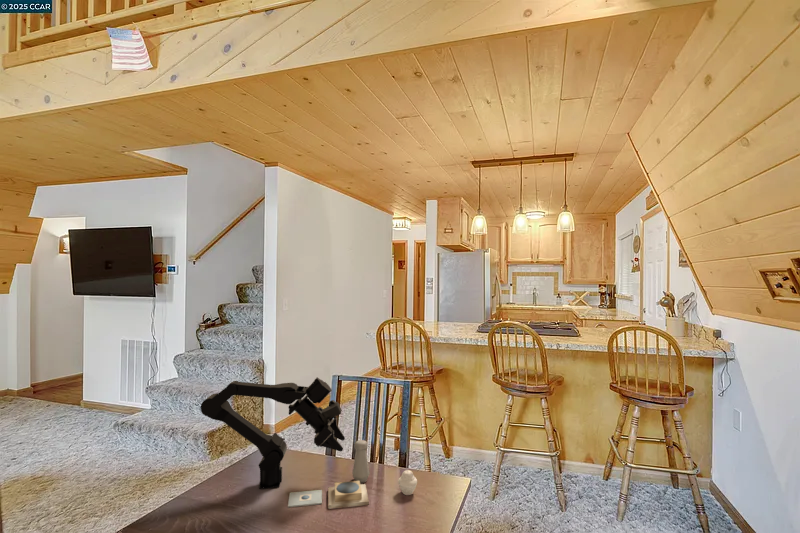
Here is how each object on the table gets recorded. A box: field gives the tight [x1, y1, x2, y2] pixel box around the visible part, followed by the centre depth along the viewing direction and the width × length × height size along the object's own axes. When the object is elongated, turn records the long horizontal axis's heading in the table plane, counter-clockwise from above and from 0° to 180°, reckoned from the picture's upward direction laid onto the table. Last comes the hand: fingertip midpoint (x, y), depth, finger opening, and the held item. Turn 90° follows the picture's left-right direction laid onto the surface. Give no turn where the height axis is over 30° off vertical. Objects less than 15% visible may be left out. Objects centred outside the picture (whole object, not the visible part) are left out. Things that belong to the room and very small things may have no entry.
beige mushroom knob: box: [351, 439, 370, 484], centre depth 142 cm, size 6×6×13 cm
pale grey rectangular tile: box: [287, 489, 323, 508], centre depth 130 cm, size 10×8×1 cm
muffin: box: [397, 469, 418, 496], centre depth 134 cm, size 6×6×7 cm
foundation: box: [327, 480, 370, 510], centre depth 131 cm, size 12×11×3 cm
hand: (343, 444), depth 142 cm, fingers open, 9 cm apart
